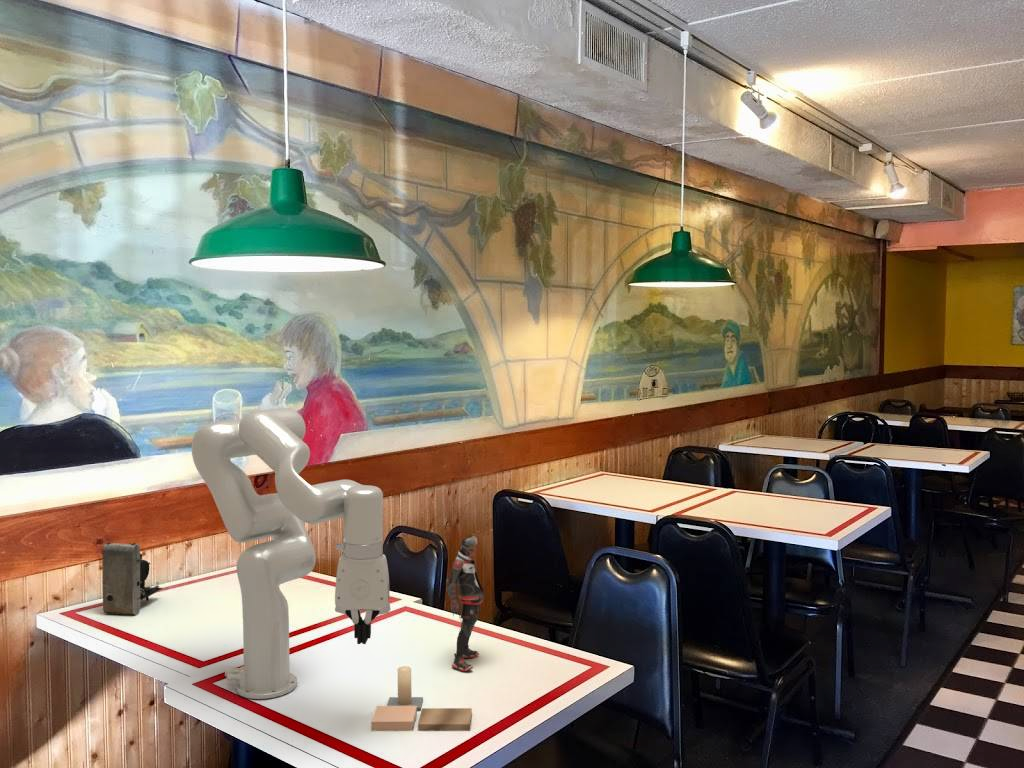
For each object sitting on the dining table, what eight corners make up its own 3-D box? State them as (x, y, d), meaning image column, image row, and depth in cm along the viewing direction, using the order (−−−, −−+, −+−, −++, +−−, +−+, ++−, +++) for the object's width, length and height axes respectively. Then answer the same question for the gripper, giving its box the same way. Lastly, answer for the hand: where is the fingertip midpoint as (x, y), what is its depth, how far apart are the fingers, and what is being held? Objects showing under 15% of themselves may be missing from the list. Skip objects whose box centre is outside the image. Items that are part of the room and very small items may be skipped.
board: (418, 730, 161) (418, 724, 161) (422, 714, 168) (421, 708, 168) (469, 730, 161) (469, 724, 161) (471, 714, 168) (471, 708, 168)
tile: (371, 721, 161) (412, 721, 161) (377, 705, 168) (416, 705, 168) (371, 732, 161) (413, 732, 161) (377, 716, 168) (417, 716, 168)
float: (385, 711, 170) (385, 673, 169) (389, 700, 175) (389, 664, 174) (420, 711, 170) (420, 673, 169) (423, 700, 175) (422, 664, 174)
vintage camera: (165, 601, 243) (163, 533, 243) (134, 616, 228) (132, 544, 227) (134, 600, 244) (133, 532, 244) (101, 616, 229) (99, 543, 229)
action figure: (463, 675, 187) (462, 543, 186) (432, 661, 195) (431, 535, 194) (497, 662, 195) (496, 535, 193) (465, 650, 203) (464, 527, 201)
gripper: (320, 554, 159) (320, 648, 160) (398, 555, 159) (398, 649, 160) (328, 544, 167) (328, 634, 168) (403, 545, 167) (403, 635, 168)
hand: (362, 641), depth 164 cm, fingers closed
